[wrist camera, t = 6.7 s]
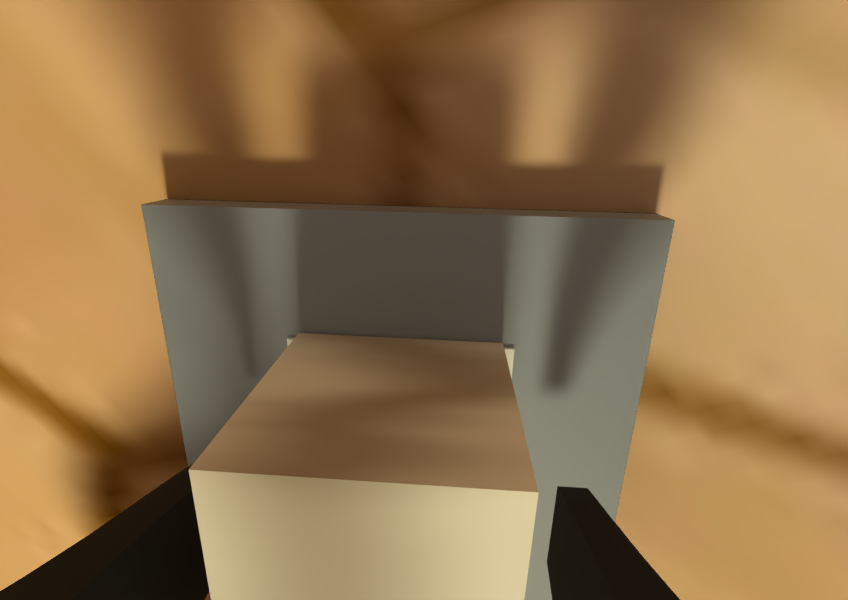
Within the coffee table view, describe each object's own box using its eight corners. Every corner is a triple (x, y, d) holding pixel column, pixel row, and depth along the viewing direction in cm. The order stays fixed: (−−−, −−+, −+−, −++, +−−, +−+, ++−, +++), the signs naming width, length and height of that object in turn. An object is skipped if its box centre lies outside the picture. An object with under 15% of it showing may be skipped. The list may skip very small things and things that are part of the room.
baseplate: (656, 213, 11) (676, 221, 10) (587, 586, 15) (597, 620, 14) (166, 199, 12) (138, 205, 11) (224, 561, 16) (208, 591, 15)
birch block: (503, 343, 11) (538, 492, 6) (488, 508, 13) (507, 723, 8) (298, 332, 11) (188, 469, 7) (310, 496, 13) (227, 698, 8)
